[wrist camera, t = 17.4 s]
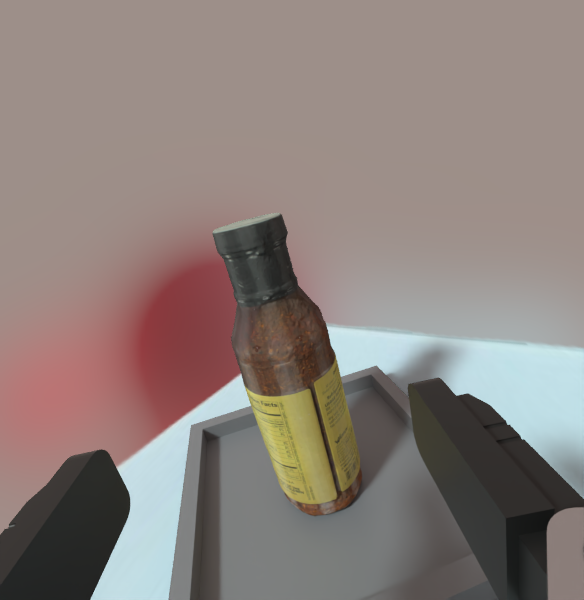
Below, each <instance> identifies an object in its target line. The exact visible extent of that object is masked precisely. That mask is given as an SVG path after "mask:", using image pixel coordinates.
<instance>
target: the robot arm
mask: <svg viewBox="0 0 584 600" xmlns="http://www.w3.org/2000/svg"><path fill="white" fill-rule="evenodd" d="M408 394H409V402H410V410H411V418H412V425H413V433H414V438H415V441H416V445H417V448H418V450H419V453H420V455H421V457H422V459H423V461H424V463H425V465H426V467H427V469H428V470H429V472H430V474H431V476H432V478H433V480H434V482H435V483H436V485H437V487H438V489H439V491H440V493H441V494H442V496H443V498H444V500H445V502H446V504H447V506H448V507H449V509H450V511H451V513H452V515H453V517H454V518H455V520H456V522H457V524H458V526H459V528H460V529H461V531H462V533H463V535H464V537H465V539H466V541H467V542H468V544H469V546H470V548H471V550H472V552H473V553H474V555H475V557H476V559H477V561H478V563H479V565H480V566H481V568H482V570H483V572H484V574H485V576H486V577H487V579H488V581H489V583H490V585H491V587H492V588H493V590H494V592H495V594H496V596H497V598H498V600H584V499H583V498H582V497H581V496H580V495H579V494H578V493H577V492H576V491H575V490H574V489H573V488H572V487H571V486H570V485H569V484H568V483H567V482H566V481H565V480H564V479H563V478H562V477H561V476H560V475H559V474H558V473H557V472H556V471H555V470H554V469H553V468H552V467H551V466H550V465H549V464H548V463H547V462H546V461H545V460H544V459H543V458H542V457H541V456H540V455H539V454H538V453H537V452H536V451H535V450H534V449H533V448H532V447H531V446H530V445H529V444H528V443H527V442H526V441H525V440H522V439H521V437H520V435H519V434H518V433H517V432H516V431H515V430H514V429H513V428H512V427H511V426H510V425H507V423H506V421H505V420H504V419H503V418H502V417H501V416H500V415H499V414H498V413H497V412H496V411H495V410H494V409H493V408H492V407H491V406H490V405H489V404H487V403H485V402H483V401H481V400H479V399H477V398H475V397H473V396H472V395H470V394H463V395H459V396H456V395H455V394H454V393H453V392H452V391H451V390H450V388H449V387H448V386H447V385H446V384H445V383H444V382H443V380H442V379H440V378H435V379H430V380H425V381H421V382H416V383H412V384H409V385H408ZM129 511H130V496H129V492H128V490H127V488H126V486H125V484H124V482H123V480H122V478H121V476H120V474H119V472H118V470H117V468H116V466H115V464H114V462H113V460H112V459H111V457H110V455H109V453H108V452H107V451H105V450H97V451H92V452H88V453H83V454H78V455H74V456H71V457H69V458H68V459H67V460H66V461H65V462H64V463H63V465H62V466H61V467H60V469H59V470H58V471H57V472H56V474H55V475H54V476H53V478H52V479H51V480H50V481H49V483H48V484H47V485H46V486H45V487H43V488H42V489H41V490H40V491H39V492H38V493H37V494H36V495H34V496H33V497H32V498H31V499H30V500H29V501H28V502H27V503H26V504H25V505H24V506H23V508H22V509H21V510H20V511H19V513H18V514H17V515H16V516H15V518H14V519H13V520H12V521H11V522H10V524H9V528H8V529H5V530H4V531H3V532H2V534H1V535H0V600H90V599H91V597H92V595H93V592H94V590H95V588H96V586H97V584H98V582H99V579H100V577H101V575H102V573H103V571H104V569H105V566H106V564H107V562H108V560H109V558H110V556H111V553H112V551H113V549H114V547H115V545H116V543H117V540H118V538H119V536H120V534H121V532H122V530H123V527H124V525H125V523H126V521H127V518H128V515H129Z"/></svg>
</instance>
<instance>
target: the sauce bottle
mask: <svg viewBox="0 0 584 600" xmlns="http://www.w3.org/2000/svg"><path fill="white" fill-rule="evenodd" d="M287 233H288V232H287V229H286V226H285V224H284V220H283V217H282V215H281V214H280V213H273V214H267V215H263V216H259V217H255V218H251V219H247V220H243V221H239V222H236V223H233V224H230V225H227V226H224V227H220V228H218V229H216V230H214V231H213V237H214V240H215V244H216V248H217V251H218V253H219V254H220V255H221V256H222V258H223V259H224V262H225V264H226V267H227V271H228V274H229V277H230V280H231V283H232V286H233V289H234V297H235V299H236V301H237V309H236V317H235V323H234V328H233V332H232V337H231V341H232V347H233V350H234V352H235V355H236V359H237V361H238V365H239V367H240V371H241V374H242V378H243V382H244V385H245V388H246V391H247V394H248V397H249V400H250V403H251V406H252V409H253V412H254V415H255V417H256V420H257V423H258V426H259V429H260V431H261V434H262V437H263V440H264V442H265V445H266V448H267V450H268V453H269V456H270V458H271V461H272V464H273V467H274V470H275V473H276V476H277V478H278V481H279V484H280V486H281V488H282V490H283V491H284V494H285V496H286V497H287V499H288V500H289V501H290V502H291V503H292V504H293V505H294V506H295V507H296V508H298V509H299V510H301V511H302V512H303V513H306V514H308V515H312V516H320V515H327V514H330V513H333V512H337V511H339V510H342V509H343V508H345V507H347V506H348V505H349V504H350V503H351V502H352V501H353V500H354V498H355V496H356V495H357V492H358V490H359V488H360V485H361V481H362V471H361V468H360V456H359V451H358V447H357V443H356V438H355V434H354V430H353V426H352V422H351V418H350V414H349V410H348V406H347V402H346V398H345V393H344V389H343V385H342V381H341V376H340V372H339V368H338V364H337V360H336V356H335V352H334V350H333V349H332V347H331V344H330V339H329V334H328V330H327V327H326V323H325V321H324V320H323V317H322V313H321V312H320V309H319V307H318V306H317V305H315V303H314V302H313V301H312V300H311V299H310V298H309V297H308V296H307V295H306V294H305V293H304V291H303V290H302V289H301V288H300V287H299V286H298V283H297V277H296V276H295V274H294V272H293V268H292V263H291V261H290V257H289V253H288V248H287V246H286V237H287Z"/></svg>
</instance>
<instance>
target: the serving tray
mask: <svg viewBox="0 0 584 600" xmlns="http://www.w3.org/2000/svg"><path fill="white" fill-rule="evenodd" d="M341 381H342V385H343V389H344V393H345V398H346V402H347V406H348V410H349V414H350V418H351V422H352V426H353V430H354V434H355V438H356V443H357V447H358V451H359V456H360V468H361V471H362V481H361V485H360V488H359V490H358V492H357V495H356V496H355V498H354V500H353V501H352V502H351V503H350V504H349V505H348V506H347V507H345V508H343V509H342V510H339V511H337V512H333V513H330V514H327V515H320V516H312V515H308V514H306V513H303V512H302V511H301V510H299V509H298V508H296V507H295V506H294V505H293V504H292V503H291V502H290V501H289V500H288V499H287V497H286V496H285V494H284V491H283V490H282V488H281V486H280V484H279V481H278V478H277V476H276V473H275V470H274V467H273V464H272V461H271V458H270V456H269V453H268V450H267V448H266V445H265V442H264V440H263V437H262V434H261V431H260V429H259V426H258V423H257V420H256V417H255V415H254V412H253V409H252V406H250V407H247V408H243V409H240V410H237V411H234V412H231V413H228V414H225V415H222V416H219V417H215V418H212V419H209V420H206V421H203V422H200V423H197V424H194V425H191V430H190V438H189V445H188V453H187V461H186V469H185V476H184V484H183V492H182V500H181V507H180V515H179V523H178V531H177V538H176V546H175V554H174V562H173V569H172V577H171V585H170V593H169V600H498V598H497V596H496V594H495V592H494V590H493V588H492V587H491V585H490V583H489V581H488V579H487V577H486V576H485V574H484V572H483V570H482V568H481V566H480V565H479V563H478V561H477V559H476V557H475V555H474V553H473V552H472V550H471V548H470V546H469V544H468V542H467V541H466V539H465V537H464V535H463V533H462V531H461V529H460V528H459V526H458V524H457V522H456V520H455V518H454V517H453V515H452V513H451V511H450V509H449V507H448V506H447V504H446V502H445V500H444V498H443V496H442V494H441V493H440V491H439V489H438V487H437V485H436V483H435V482H434V480H433V478H432V476H431V474H430V472H429V470H428V469H427V467H426V465H425V463H424V461H423V459H422V457H421V455H420V453H419V450H418V448H417V445H416V441H415V438H414V433H413V425H412V418H411V410H410V402H409V398H408V397H407V396H406V395H405V394H404V393H403V392H402V391H401V390H400V389H399V388H398V387H397V386H396V385H395V384H394V383H393V382H392V381H391V380H390V379H389V378H388V377H387V376H386V375H385V374H384V373H383V372H382V371H381V370H380V369H379V368H378V367H377V366H374V367H371V368H368V369H365V370H362V371H358V372H355V373H352V374H349V375H346V376H343V377H341Z"/></svg>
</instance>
